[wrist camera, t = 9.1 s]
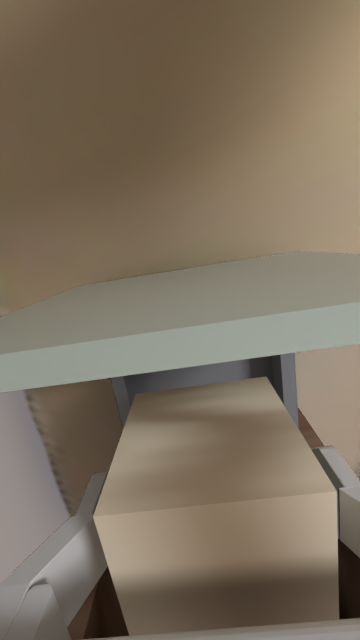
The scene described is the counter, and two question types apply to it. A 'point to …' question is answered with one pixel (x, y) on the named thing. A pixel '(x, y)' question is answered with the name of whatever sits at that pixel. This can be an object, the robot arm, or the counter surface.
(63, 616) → the robot arm
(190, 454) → the block
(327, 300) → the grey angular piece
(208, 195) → the counter surface
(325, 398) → the counter surface
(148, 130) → the counter surface
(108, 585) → the tan box
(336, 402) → the counter surface
